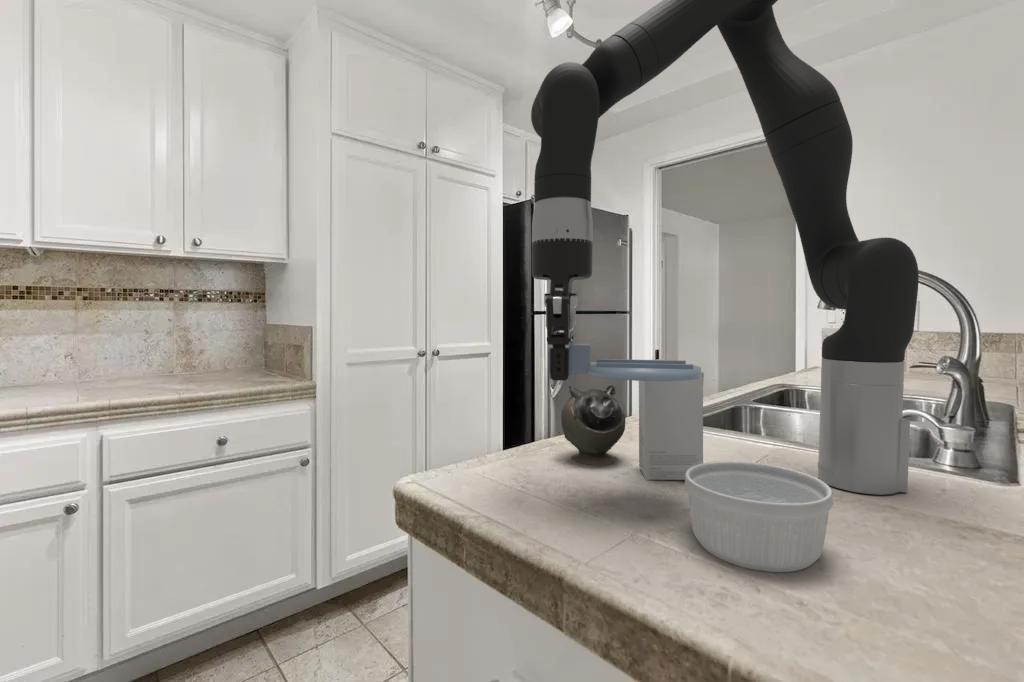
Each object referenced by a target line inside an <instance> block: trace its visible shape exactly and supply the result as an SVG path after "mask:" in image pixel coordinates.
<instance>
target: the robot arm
mask: <svg viewBox="0 0 1024 682" xmlns="http://www.w3.org/2000/svg"><path fill="white" fill-rule="evenodd" d="M778 1H779V0H661V1H660V2H658V3H657V4H655V5H654V6H653V7H651V8H650V9H648V10H647V11H645V12H644V13H643V14H642V15H640V16H638V17H637V18H635V19H634V20H633V21H631V22H629V23H628V24H626V25H625V26H623V27H622V28H620V29H619V30H618V31H616V32H615V33H613V34H612V35H610V36H609V37H607V38H606V39H605V40H603V41H602V42H601V43H600V44H599V45H598V46H596V47H595V48H594V50H592V52H591V54H590V55H589V57H588V58H587V59H586V60H585V61H584V62H583V63H580V62H579V63H578V62H574V61H567V62H563V63H560V64H558V65H557V66H554V67H553V68H552V69H551V70H550V71H549V72H548V73H547V74H546V76H545V77H544V79H543V81H542V83H541V85H540V87H539V89H538V91H537V94H536V96H535V98H534V100H533V103H532V106H531V110H530V111H531V112H530V121H531V125H532V127H533V130H534V132H535V133H536V134H537V136H539V137H540V150H539V155H538V157H537V160H536V163H535V169H534V187H533V188H534V192H533V193H534V194H533V195H534V201H533V202H534V204H533V205H534V206H533V212H532V213H533V214H532V219H531V221H532V222H531V231H532V232H531V276H532V277H533V279H535V280H543V281H550V284H549V285H550V286H549V293H544V295H543V296H544V301H543V304H544V308H545V328H546V331H547V332H546V333H547V335H546V336H547V337H546V342H547V347H548V350H549V349H553V350H550V373H549V377H550V379H551V380H552V381H567V380H568V379H569V376H570V375H571V374H569V350H566V349H570V347H571V344H574V342H573V341H574V335H573V332H574V330H575V329H576V324H577V323H576V322H577V321H576V320H577V319H576V316H577V313H576V311H577V308H578V305H579V304H578V303H579V302H578V301H579V300H578V299H579V295H578V293H575V292H573V291H572V289H573V286H572V284H573V282H574V281H580V280H582V281H583V280H588V279H590V278H591V277H592V274H593V238H594V237H593V235H594V234H593V233H594V229H593V228H594V221H593V213H592V212H593V211H592V169H591V168H592V159H593V155H594V150H595V143H596V138H597V132H598V123H599V119H600V118H601V117H602V116H603V115H604V114H606V113H607V112H608V111H609V110H610V109H611V108H613V106H614V105H616V104H617V103H619V102H620V101H622V100H623V99H624V98H626V97H628V96H631V94H633V93H636V91H637V90H639V89H641V88H642V87H643V86H645V85H646V84H648V83H649V82H650V81H652V80H653V79H655V78H656V77H657V76H659V75H660V74H661V73H663V72H664V71H665V70H666V69H668V68H669V67H670V66H672V64H674V62H676V61H677V60H678V59H680V58H681V57H682V56H683V55H684V54H686V53H687V51H689V50H690V49H691V48H692V47H693V46H694V45H695V44H696V43H698V42H699V41H701V39H702V38H703V37H704V36H705V35H707V33H709V32H710V31H711V30H713V29H714V28H715V27H717V28H718V30H719V32H720V34H721V36H722V39H723V41H724V42H725V44H726V46H727V48H728V50H729V51H730V54H731V56H732V58H733V60H734V62H735V64H736V66H737V68H738V70H739V72H740V75H741V77H742V80H743V82H744V85H745V87H746V91H747V92H748V94H749V98H750V100H751V103H752V105H753V107H754V110H755V113H756V115H757V117H758V121H759V123H760V126H761V130H762V134H763V136H764V137H765V138H764V139H765V142H766V144H767V148H768V150H769V153H770V155H771V158H772V161H773V163H774V165H775V169H776V170H777V173H778V175H779V177H780V180H781V183H782V186H783V189H784V192H785V195H786V198H787V201H788V204H789V206H790V210H791V212H792V215H793V218H794V221H795V224H796V227H797V230H798V234H799V238H800V242H801V243H800V244H801V247H802V251H803V255H804V260H805V265H806V268H807V272H808V276H809V280H810V283H811V285H812V288H813V290H814V292H815V294H816V296H817V297H818V298H819V299H820V301H822V302H823V304H825V305H827V306H828V307H830V308H833V309H837V310H845V314H844V319H843V323H842V324H841V326H840V327H839V329H838V330H836V331H835V332H834V333H832V334H830V335H828V336H826V337H824V339H823V340H822V343H821V344H822V345H821V365H820V367H821V369H820V370H821V371H820V397H819V400H820V401H819V404H820V405H819V428H818V429H819V433H818V458H817V459H818V461H817V468H818V469H817V479H819V480H821V481H823V482H824V483H826V484H827V485H828V486H829V487H833V488H837V489H840V490H844V491H848V492H853V493H859V494H867V495H878V496H879V495H881V496H882V495H894V494H897V493H908V490H909V489H908V487H909V485H908V484H909V461H910V438H911V436H910V435H911V422H910V421H909V419H907V418H905V417H903V409H904V388H905V387H904V383H905V382H904V381H905V360H906V359H905V358H906V357H905V356H906V350H907V347H908V346H909V343H910V342H911V340H912V338H913V335H914V330H915V321H916V310H917V302H918V301H917V300H918V293H919V279H920V278H919V277H920V276H919V275H920V274H919V266H918V263H917V258H916V255H915V253H914V252H913V250H912V249H911V247H910V246H909V245H908V244H906V243H905V242H904V241H902V240H900V239H897V238H894V237H878V238H877V237H876V238H870V239H866V240H861V241H860V240H859V238H858V236H857V234H856V232H855V228H854V226H853V224H852V220H851V217H850V214H849V210H848V205H847V192H848V184H849V183H848V182H849V178H850V171H851V166H852V157H853V134H852V130H851V127H850V123H849V120H848V117H847V115H846V112H845V109H844V107H843V103H842V101H841V97H840V94H839V93H838V91H837V89H836V87H835V86H834V84H833V83H832V82H831V81H830V80H829V79H828V78H827V77H826V76H825V75H823V73H821V72H820V71H818V70H817V69H815V68H814V67H813V66H811V65H810V64H808V63H807V62H805V61H804V60H802V59H801V58H799V56H797V55H796V54H794V52H793V51H792V50H791V49H790V47H789V46H788V45H787V43H786V41H785V40H784V38H783V36H782V33H781V31H780V28H779V26H778V24H777V20H776V18H775V13H774V9H773V6H774V4H776V3H777V2H778ZM560 331H561V332H560Z"/></svg>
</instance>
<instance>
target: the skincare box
mask: <svg viewBox="0 0 1024 682" xmlns="http://www.w3.org/2000/svg"><path fill="white" fill-rule="evenodd" d="M704 375H705V373H704V372H703V371H702V370H701V377H700V378H698V379H693V380H683V381H638V456H639V457H638V467H639V469H640V470H641V473H642V474H643V476H644V478H645V480H646V481H685V473H686V471H687V470H688V469H689V468H691V467H693V466H695V465H699V464H702V463H704Z"/></svg>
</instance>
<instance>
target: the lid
mask: <svg viewBox="0 0 1024 682" xmlns="http://www.w3.org/2000/svg"><path fill="white" fill-rule="evenodd" d="M550 350H553V349H549V348H548V374H550ZM566 350H569V374H570V375H572V374H573V375H589V376H592V377H598V378H603V379H610V380H611V379H612V380H621V381H635V382H637V381H638V382H639V381H683V380H693V379H698V378H700V377H701V371H702V367H701V366H698V365H694V364H692V363H691V364H687V362H686V360H676V359H674V360H673V359H672V360H671V359H670V360H668V359H664V360H663V359H624V358H623V359H621V358H620V359H619V358H617V359H616V358H615V359H614V358H596V361H594V362H593V361H591V343H573V344H571V347H570V349H566Z"/></svg>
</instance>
